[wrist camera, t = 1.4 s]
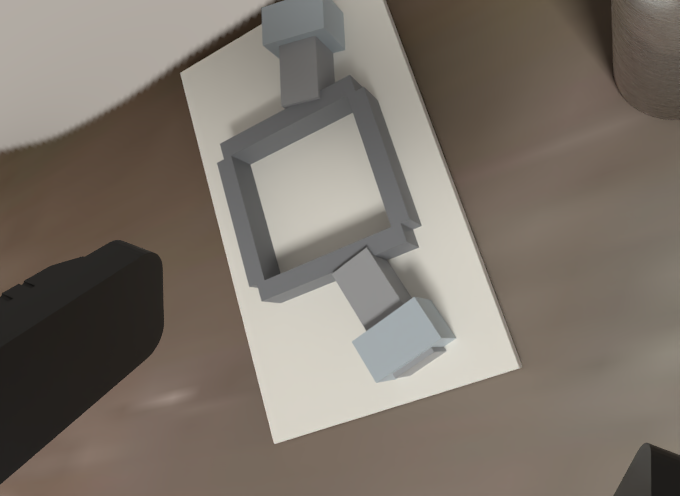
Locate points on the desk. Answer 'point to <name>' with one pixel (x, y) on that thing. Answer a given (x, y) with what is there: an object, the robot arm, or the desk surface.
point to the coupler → (648, 55)
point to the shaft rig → (340, 219)
